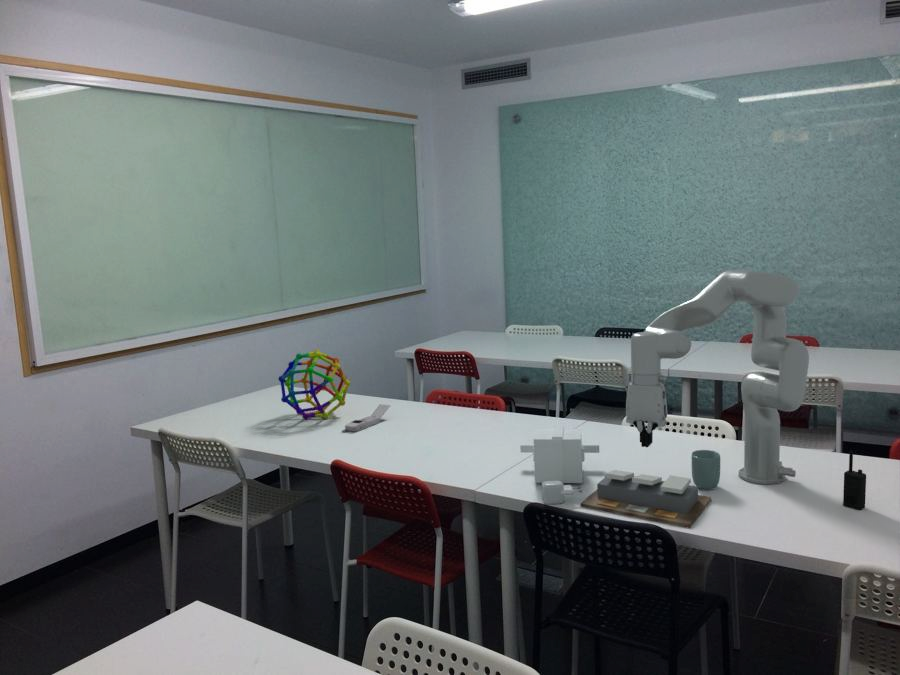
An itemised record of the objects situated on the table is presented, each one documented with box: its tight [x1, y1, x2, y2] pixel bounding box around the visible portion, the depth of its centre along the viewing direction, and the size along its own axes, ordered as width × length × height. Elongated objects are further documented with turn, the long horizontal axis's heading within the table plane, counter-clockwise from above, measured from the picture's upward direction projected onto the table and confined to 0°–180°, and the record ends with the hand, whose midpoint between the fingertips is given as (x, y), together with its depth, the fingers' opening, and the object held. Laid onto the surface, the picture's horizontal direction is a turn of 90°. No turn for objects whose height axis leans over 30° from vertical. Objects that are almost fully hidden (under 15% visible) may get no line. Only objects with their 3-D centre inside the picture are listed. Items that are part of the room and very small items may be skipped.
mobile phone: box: [341, 403, 391, 433], centre depth 290 cm, size 6×6×25 cm
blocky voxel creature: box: [519, 426, 600, 485], centre depth 226 cm, size 15×25×28 cm
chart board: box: [579, 489, 713, 529], centre depth 197 cm, size 30×20×1 cm, turn 55°
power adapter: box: [541, 481, 584, 505], centre depth 201 cm, size 11×5×6 cm, turn 90°
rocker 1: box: [603, 469, 635, 481], centre depth 201 cm, size 6×8×1 cm
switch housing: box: [596, 475, 699, 514], centre depth 197 cm, size 25×10×5 cm, turn 55°
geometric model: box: [278, 349, 351, 420], centre depth 304 cm, size 30×30×30 cm
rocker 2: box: [632, 473, 663, 485], centre depth 197 cm, size 6×8×1 cm
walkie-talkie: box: [842, 450, 867, 511], centre depth 186 cm, size 5×3×15 cm
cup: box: [691, 449, 721, 491], centre depth 205 cm, size 8×8×10 cm
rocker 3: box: [661, 475, 692, 494], centre depth 192 cm, size 6×8×1 cm
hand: (646, 445), depth 192 cm, fingers closed
